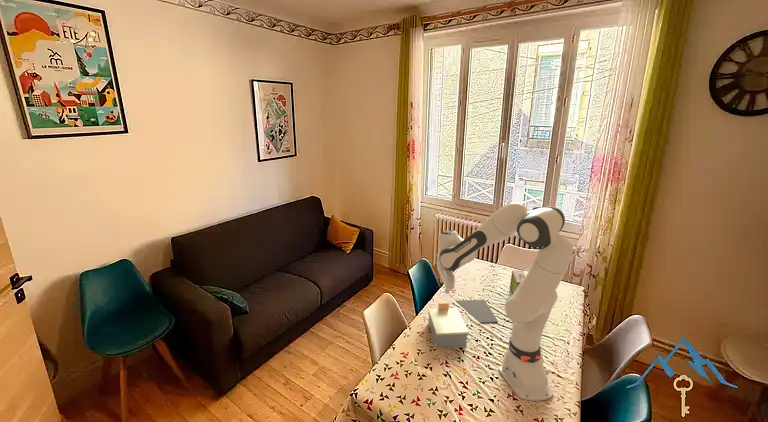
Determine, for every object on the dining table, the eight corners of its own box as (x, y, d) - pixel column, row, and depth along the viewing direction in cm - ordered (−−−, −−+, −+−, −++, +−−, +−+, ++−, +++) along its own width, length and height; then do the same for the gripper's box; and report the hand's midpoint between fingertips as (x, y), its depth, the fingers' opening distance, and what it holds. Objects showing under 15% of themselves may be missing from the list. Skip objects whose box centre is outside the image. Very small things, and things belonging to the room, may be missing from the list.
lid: (468, 335, 154) (469, 324, 152) (436, 337, 153) (437, 326, 151) (456, 311, 172) (457, 301, 170) (428, 312, 171) (428, 302, 169)
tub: (466, 347, 156) (467, 333, 154) (436, 349, 155) (437, 334, 153) (455, 323, 173) (456, 309, 171) (428, 324, 172) (429, 311, 170)
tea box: (531, 307, 186) (535, 284, 182) (512, 305, 188) (516, 282, 184) (526, 292, 200) (530, 270, 196) (508, 291, 202) (511, 269, 198)
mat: (497, 322, 174) (498, 321, 174) (467, 323, 173) (467, 322, 173) (484, 300, 193) (484, 299, 193) (456, 301, 192) (456, 300, 192)
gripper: (459, 272, 151) (456, 299, 156) (447, 252, 171) (445, 276, 175) (445, 273, 151) (443, 299, 155) (435, 253, 170) (433, 277, 175)
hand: (444, 287), depth 165 cm, fingers open, 8 cm apart
